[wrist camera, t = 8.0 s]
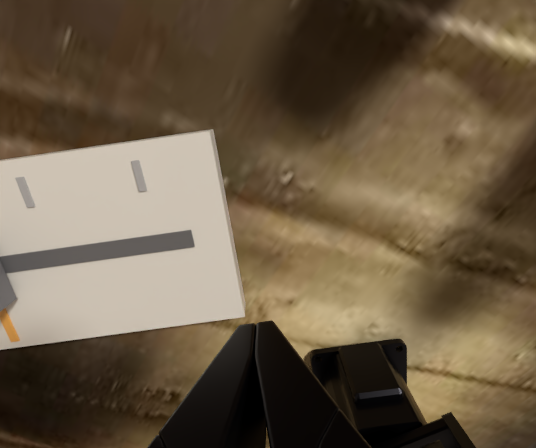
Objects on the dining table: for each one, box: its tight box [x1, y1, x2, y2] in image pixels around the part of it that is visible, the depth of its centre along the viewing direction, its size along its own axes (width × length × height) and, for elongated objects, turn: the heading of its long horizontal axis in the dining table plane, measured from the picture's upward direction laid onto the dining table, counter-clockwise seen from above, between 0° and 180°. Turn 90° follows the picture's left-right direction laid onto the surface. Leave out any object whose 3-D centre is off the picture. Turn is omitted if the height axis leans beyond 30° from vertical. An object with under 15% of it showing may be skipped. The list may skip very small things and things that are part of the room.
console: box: [0, 129, 245, 350], centre depth 19 cm, size 11×20×2 cm, turn 98°
